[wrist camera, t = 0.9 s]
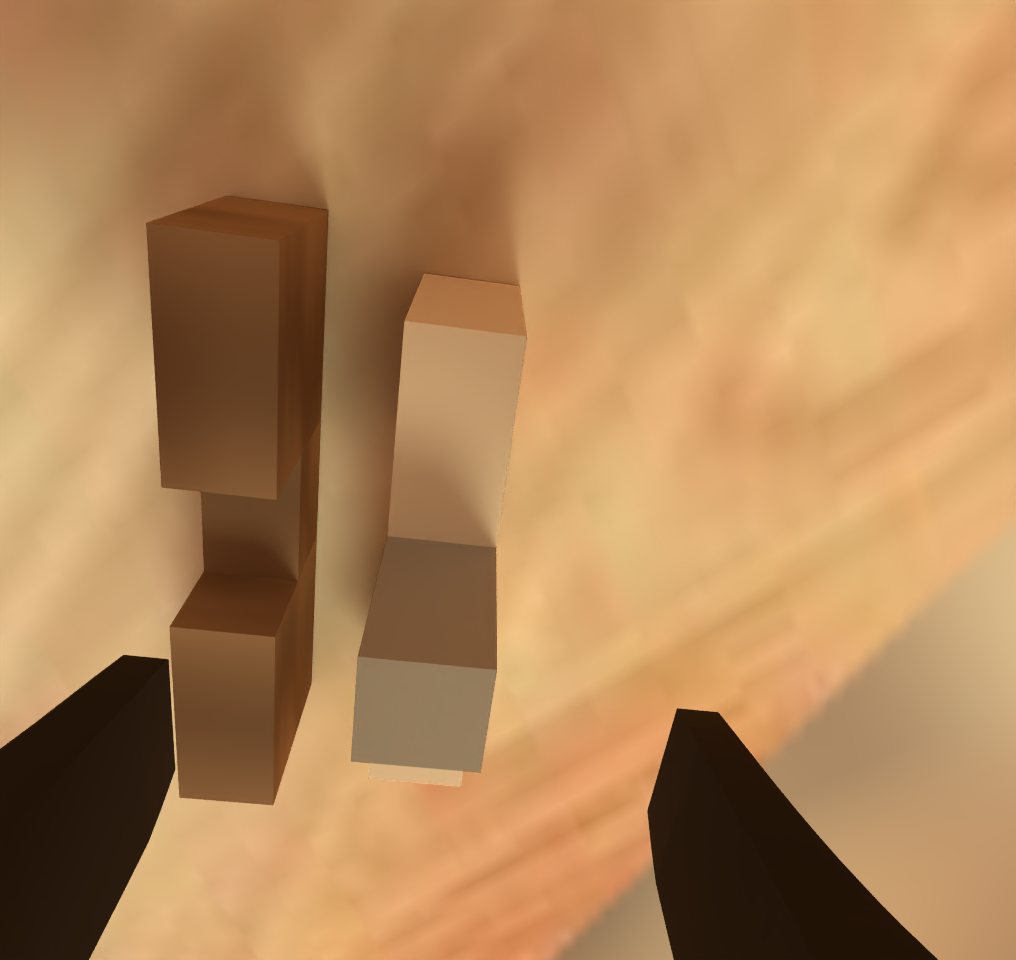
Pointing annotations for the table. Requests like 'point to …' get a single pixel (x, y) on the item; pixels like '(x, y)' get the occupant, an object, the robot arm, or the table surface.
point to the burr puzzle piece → (441, 537)
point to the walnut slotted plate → (241, 476)
